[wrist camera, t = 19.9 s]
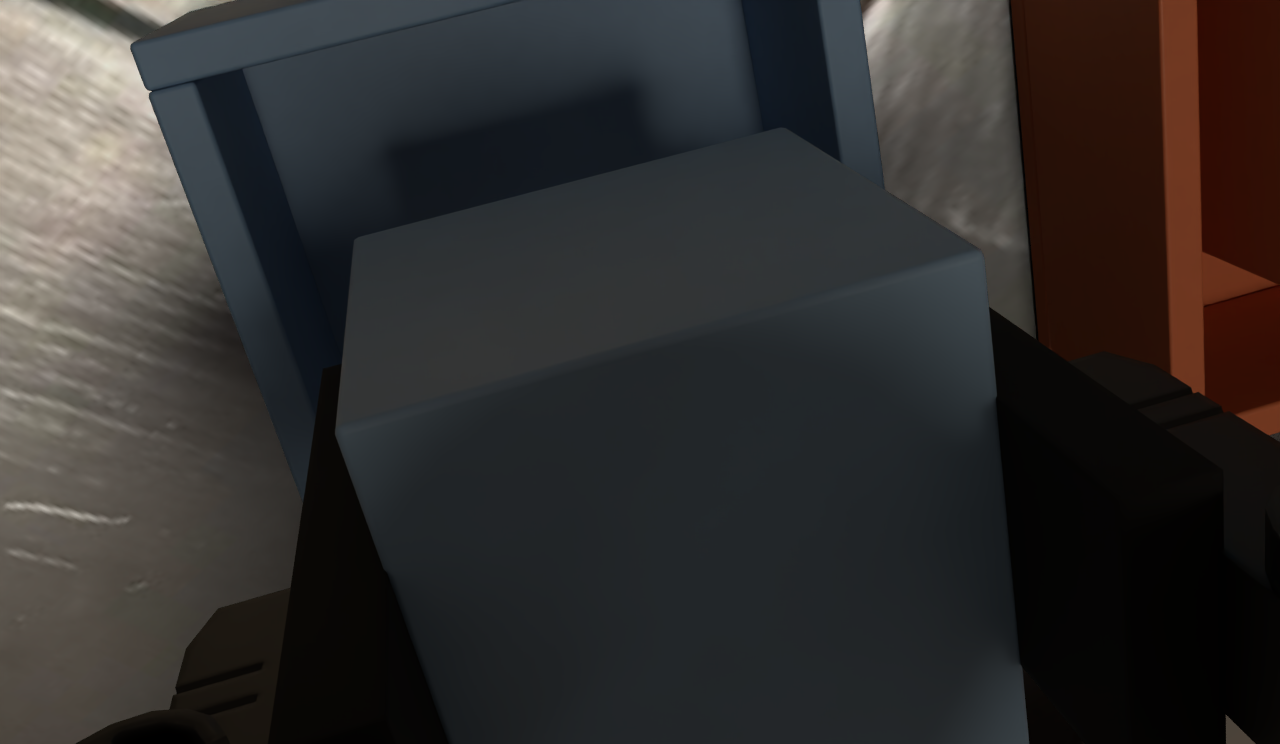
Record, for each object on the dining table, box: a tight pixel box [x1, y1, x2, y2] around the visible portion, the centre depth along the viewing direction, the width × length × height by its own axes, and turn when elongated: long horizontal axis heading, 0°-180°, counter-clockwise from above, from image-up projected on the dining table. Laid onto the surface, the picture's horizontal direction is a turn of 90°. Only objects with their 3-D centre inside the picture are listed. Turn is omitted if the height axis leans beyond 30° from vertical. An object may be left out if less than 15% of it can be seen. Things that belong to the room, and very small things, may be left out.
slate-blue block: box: [335, 127, 1029, 744], centre depth 12 cm, size 5×5×5 cm
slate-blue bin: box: [130, 0, 885, 502], centre depth 19 cm, size 10×9×4 cm
